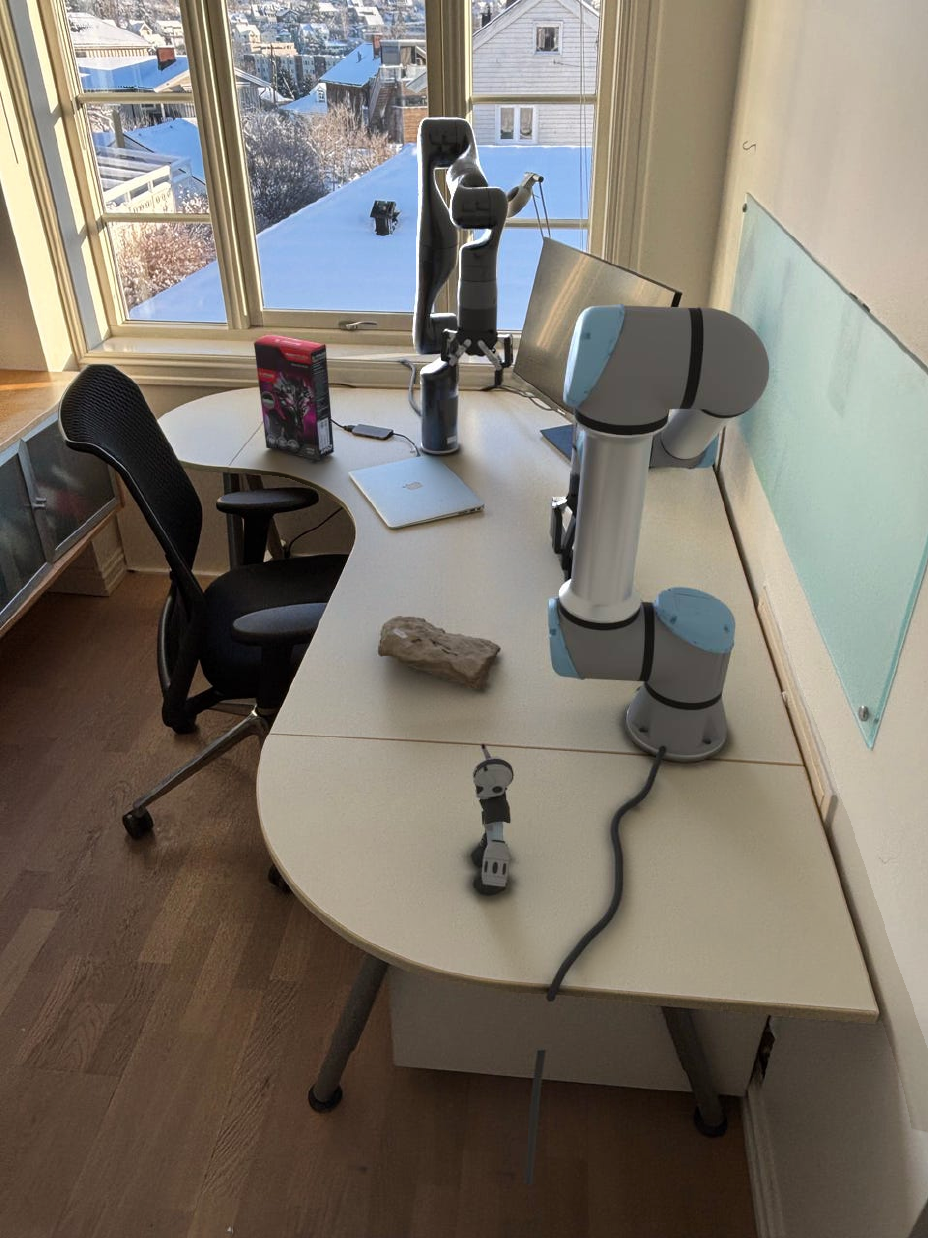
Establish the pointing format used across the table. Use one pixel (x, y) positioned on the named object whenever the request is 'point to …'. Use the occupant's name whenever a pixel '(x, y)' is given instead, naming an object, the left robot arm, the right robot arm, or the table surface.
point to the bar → (565, 523)
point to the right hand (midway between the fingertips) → (581, 582)
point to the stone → (438, 651)
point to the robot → (492, 823)
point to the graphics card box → (294, 396)
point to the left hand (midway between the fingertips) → (476, 384)
